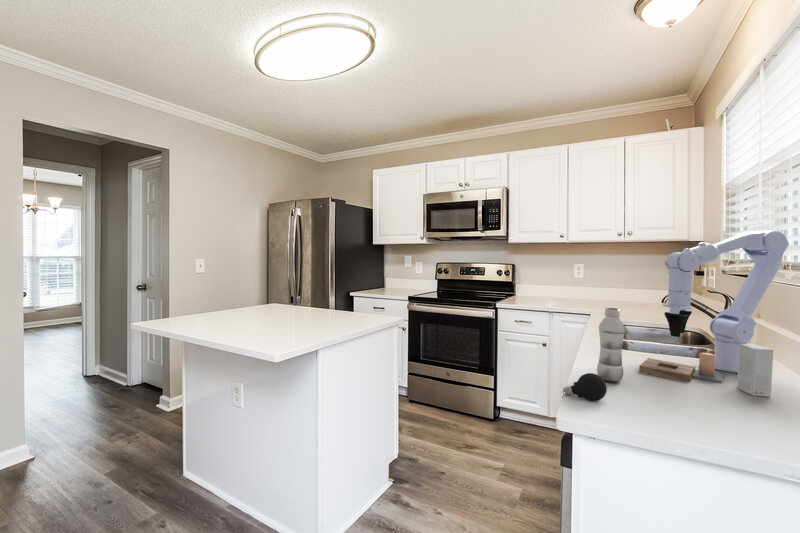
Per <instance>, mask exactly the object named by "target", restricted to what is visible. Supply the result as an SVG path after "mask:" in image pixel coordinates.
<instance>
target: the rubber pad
mask: <svg viewBox="0 0 800 533" xmlns="http://www.w3.org/2000/svg"><path fill="white" fill-rule="evenodd" d="M724 376H725V375H724V374H723V373H722V374H721V373H716V372H715V376H714V377H708V376H703V375H700V374H699V369H697V368H695V372H694V373H693V375H692V378H693V379H697V380H703V381H709V382H714V383H720V384H722V383H723V380H724Z"/></svg>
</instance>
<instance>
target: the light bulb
mask: <svg viewBox="0 0 800 533" xmlns="http://www.w3.org/2000/svg"><path fill="white" fill-rule="evenodd" d="M607 390H608V388H607V384H606V381H605V380H603V379H602V378H601V377H600V376H598V374H596V373H591V372H588V373H584V374H582V375H580V377H578V379H577V381H574V382H573V385H569V386H564V387H563V388H562V393H563V394H564V395H565V397H570V396H577V397H578V398H583V399H585V400H587V401H590V402H598V401H601V400H602V399H603V398H604V397H605V396H606V394H607ZM564 392H565V393H564Z"/></svg>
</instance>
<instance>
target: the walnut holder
mask: <svg viewBox="0 0 800 533" xmlns="http://www.w3.org/2000/svg"><path fill="white" fill-rule="evenodd" d="M638 366H639V367H638V373H641V374H645V373H646V374H645V375H651V376H657V377H661V378H666V379H670V380H675V381H682V382H685V383H690V382H691V380H692V375H693V373H694V372H695V369H696V366H695V365H690V364H685V363H678V362H674V361H668V360H662V359H655V358H652V357H651V358H650V357H648V358H646V359H645V360H644V361H643V362H642V363H640V364H639V365H638Z"/></svg>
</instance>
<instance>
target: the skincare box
mask: <svg viewBox="0 0 800 533" xmlns="http://www.w3.org/2000/svg"><path fill="white" fill-rule="evenodd" d="M773 362H774V350H773V349H771V348H768V347H765V346H762V345H759V344H753V343H746V344H740V347H739V363H738V373H737V384H736V388H737V389H739V390H741V391H743V392H744V393H747V394H749V395H751V396H755V397H766V398H767V397H768V398H770V397H771V396H772V383H773V382H772V380H773V364H774V363H773Z"/></svg>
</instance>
